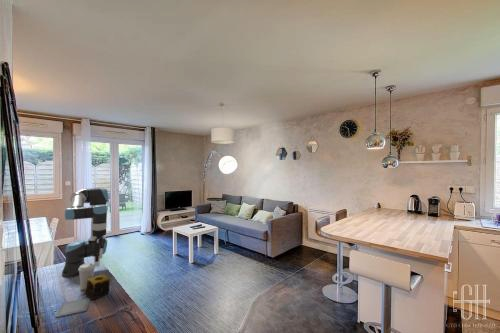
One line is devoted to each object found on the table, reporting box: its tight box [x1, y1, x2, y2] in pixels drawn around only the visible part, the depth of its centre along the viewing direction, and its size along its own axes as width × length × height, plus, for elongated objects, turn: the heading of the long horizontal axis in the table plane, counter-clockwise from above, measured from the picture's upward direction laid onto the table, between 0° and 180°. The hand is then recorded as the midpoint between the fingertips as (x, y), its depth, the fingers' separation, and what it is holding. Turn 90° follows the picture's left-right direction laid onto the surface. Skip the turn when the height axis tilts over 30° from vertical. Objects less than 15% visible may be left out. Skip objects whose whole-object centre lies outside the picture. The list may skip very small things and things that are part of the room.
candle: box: [84, 274, 111, 301], centre depth 146 cm, size 10×10×10 cm
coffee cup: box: [78, 262, 96, 291], centre depth 155 cm, size 10×10×15 cm
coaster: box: [54, 297, 92, 319], centre depth 133 cm, size 14×14×1 cm
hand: (98, 262), depth 146 cm, fingers open, 13 cm apart
